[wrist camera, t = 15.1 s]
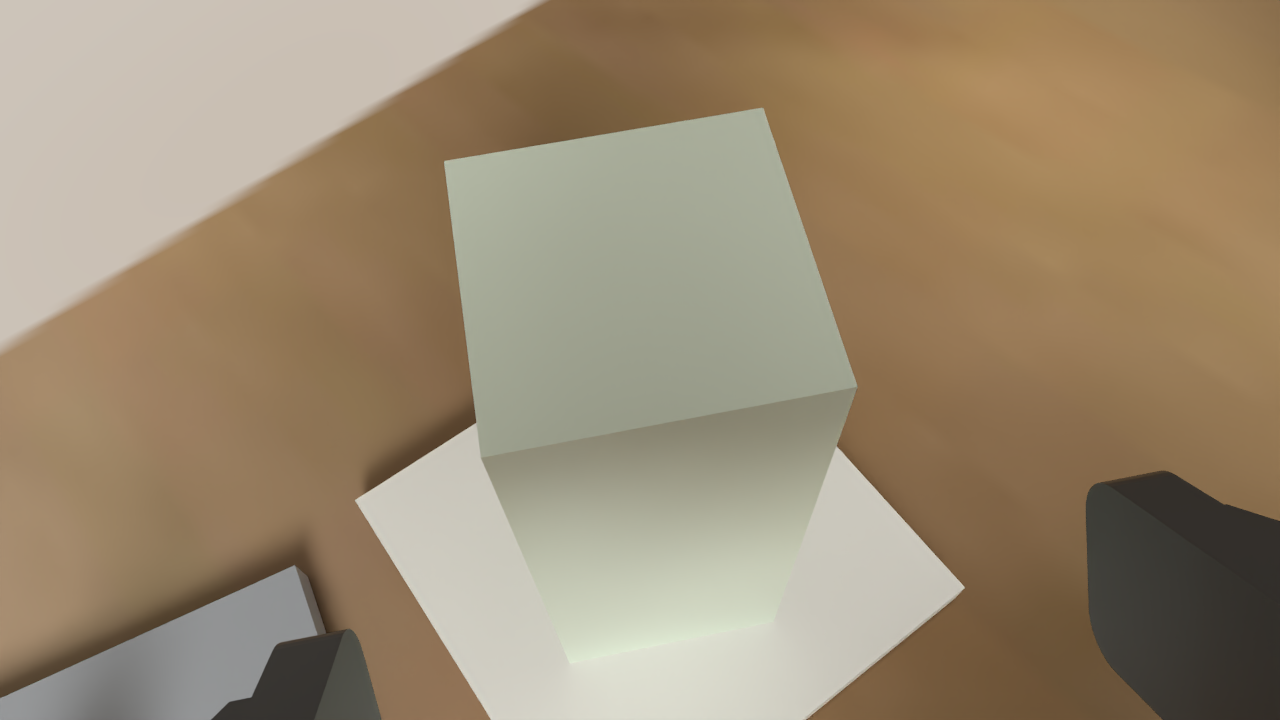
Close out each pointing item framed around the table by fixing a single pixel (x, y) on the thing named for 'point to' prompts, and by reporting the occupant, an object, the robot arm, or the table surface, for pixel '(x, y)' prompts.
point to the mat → (669, 673)
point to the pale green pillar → (649, 373)
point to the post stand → (180, 660)
